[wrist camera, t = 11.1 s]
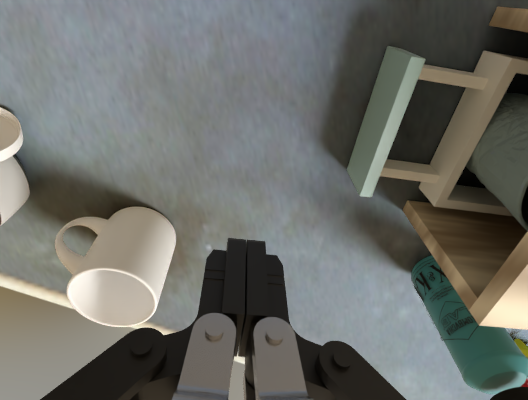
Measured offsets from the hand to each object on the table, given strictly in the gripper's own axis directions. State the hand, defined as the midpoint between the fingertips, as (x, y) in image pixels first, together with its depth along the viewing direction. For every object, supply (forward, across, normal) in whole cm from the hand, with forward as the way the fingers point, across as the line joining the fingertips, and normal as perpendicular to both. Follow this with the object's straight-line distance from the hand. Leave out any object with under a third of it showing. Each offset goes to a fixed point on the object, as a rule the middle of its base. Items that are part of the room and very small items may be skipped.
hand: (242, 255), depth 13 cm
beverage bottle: (+23, -28, +19) cm, 41 cm away
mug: (+23, +12, +18) cm, 32 cm away
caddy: (+23, -24, 0) cm, 33 cm away
